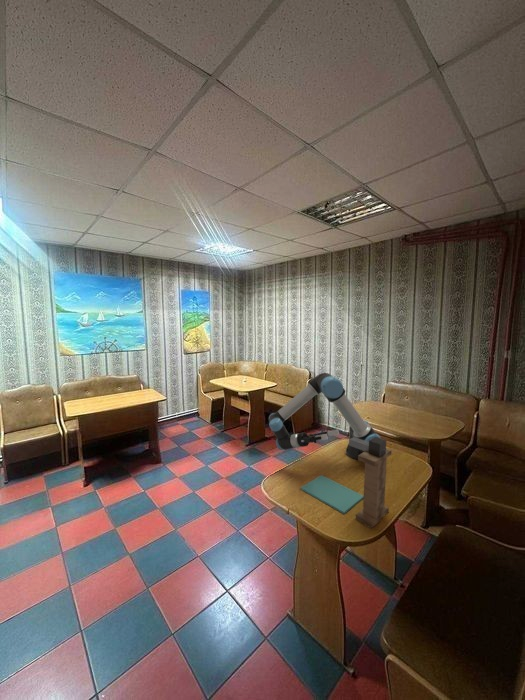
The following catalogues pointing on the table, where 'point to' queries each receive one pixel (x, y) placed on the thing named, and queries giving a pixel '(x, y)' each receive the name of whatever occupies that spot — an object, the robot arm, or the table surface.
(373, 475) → the walnut stand
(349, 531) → the table surface
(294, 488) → the table surface
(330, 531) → the table surface
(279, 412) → the robot arm
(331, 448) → the table surface
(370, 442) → the bar
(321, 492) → the teal mat
